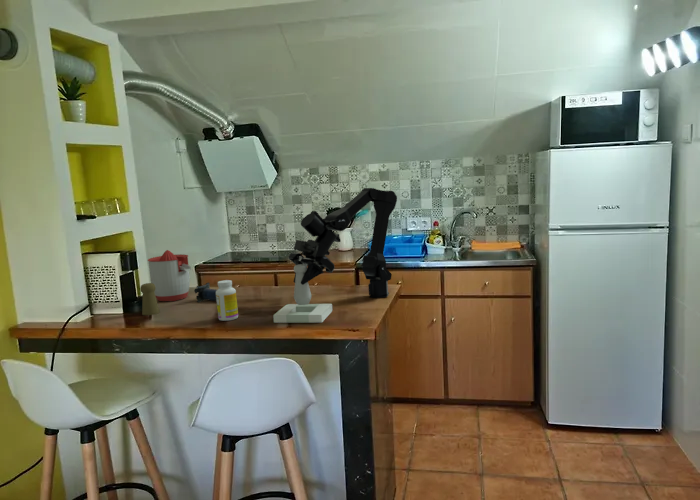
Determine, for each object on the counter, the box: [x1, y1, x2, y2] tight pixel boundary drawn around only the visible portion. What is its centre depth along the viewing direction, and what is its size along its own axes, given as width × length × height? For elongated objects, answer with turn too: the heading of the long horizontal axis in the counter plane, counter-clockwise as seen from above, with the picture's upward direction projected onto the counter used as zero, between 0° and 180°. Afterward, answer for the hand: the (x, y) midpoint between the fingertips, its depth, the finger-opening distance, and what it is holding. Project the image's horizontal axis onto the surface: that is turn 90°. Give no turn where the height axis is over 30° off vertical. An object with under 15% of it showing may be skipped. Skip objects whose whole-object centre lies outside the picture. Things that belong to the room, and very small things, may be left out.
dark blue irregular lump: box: [194, 282, 218, 303], centre depth 214 cm, size 9×8×12 cm
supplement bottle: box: [215, 279, 239, 322], centre depth 184 cm, size 7×7×13 cm
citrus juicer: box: [147, 249, 192, 302], centre depth 221 cm, size 16×17×20 cm
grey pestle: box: [293, 264, 312, 305], centre depth 180 cm, size 6×6×13 cm
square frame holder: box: [272, 303, 333, 324], centre depth 182 cm, size 16×14×2 cm
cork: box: [139, 282, 160, 316], centre depth 199 cm, size 6×6×11 cm
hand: (298, 283), depth 179 cm, fingers closed on grey pestle, 4 cm apart
